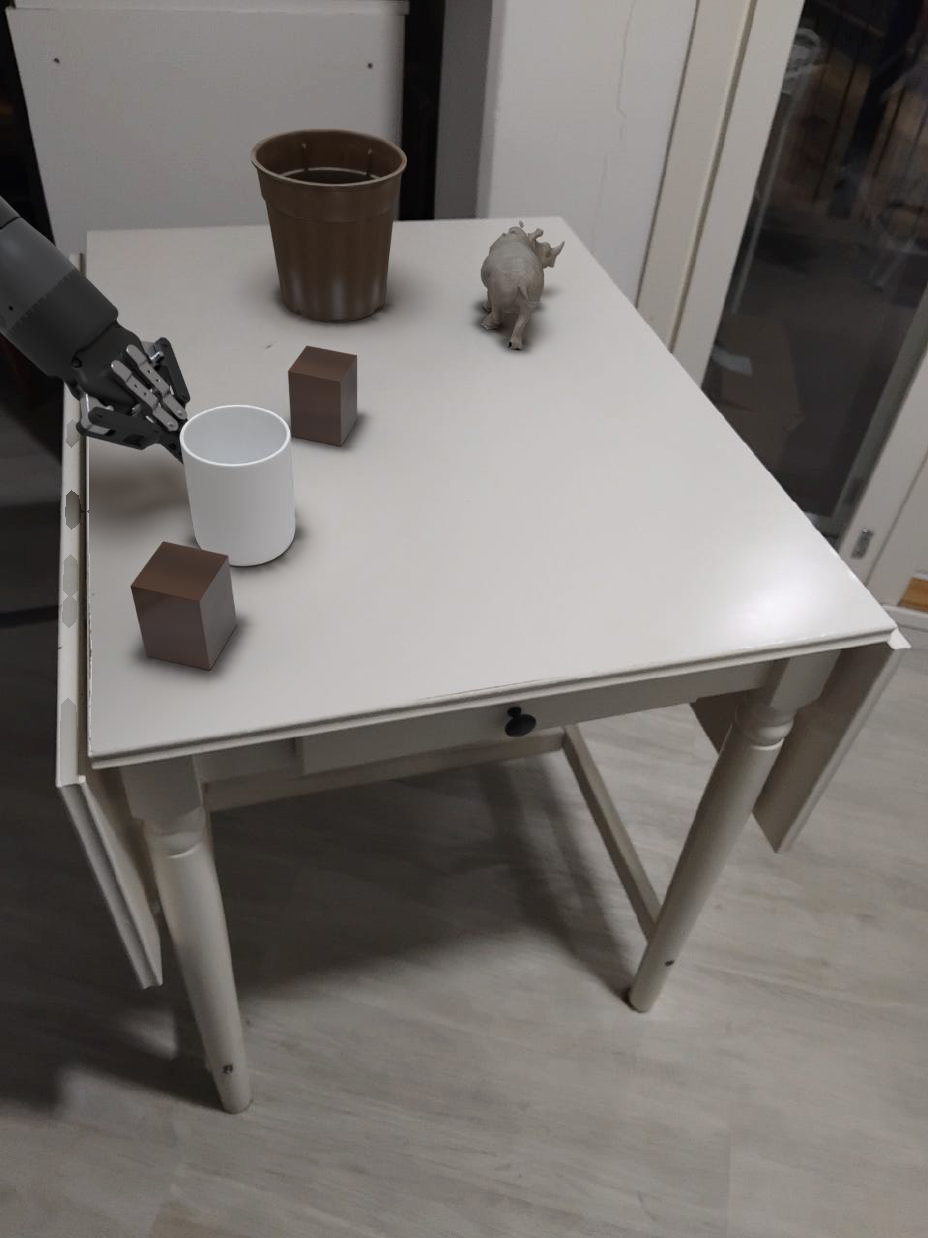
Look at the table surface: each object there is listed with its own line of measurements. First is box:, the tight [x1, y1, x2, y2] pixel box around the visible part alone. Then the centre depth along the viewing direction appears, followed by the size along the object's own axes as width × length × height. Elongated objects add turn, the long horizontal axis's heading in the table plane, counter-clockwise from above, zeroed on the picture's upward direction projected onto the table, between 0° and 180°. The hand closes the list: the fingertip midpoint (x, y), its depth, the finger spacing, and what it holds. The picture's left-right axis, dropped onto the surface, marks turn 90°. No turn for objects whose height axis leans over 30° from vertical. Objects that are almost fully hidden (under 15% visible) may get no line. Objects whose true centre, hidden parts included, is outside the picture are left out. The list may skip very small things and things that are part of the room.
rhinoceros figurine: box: [480, 220, 566, 351], centre depth 108 cm, size 8×14×15 cm
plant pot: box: [250, 128, 408, 323], centre depth 105 cm, size 16×16×16 cm
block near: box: [130, 540, 238, 671], centre depth 68 cm, size 5×5×7 cm
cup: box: [180, 404, 296, 567], centre depth 77 cm, size 8×12×10 cm
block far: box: [287, 345, 358, 447], centre depth 89 cm, size 5×5×7 cm
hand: (207, 463), depth 79 cm, fingers closed
